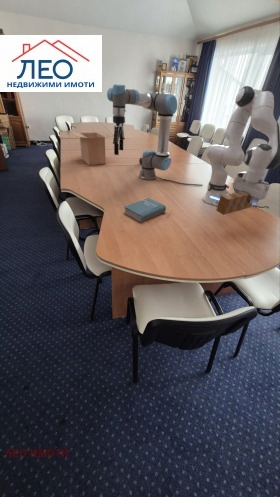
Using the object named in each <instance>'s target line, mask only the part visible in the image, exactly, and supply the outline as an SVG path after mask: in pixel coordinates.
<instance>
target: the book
mask: <svg viewBox="0 0 280 497" xmlns="http://www.w3.org/2000/svg"><path fill="white" fill-rule="evenodd" d="M166 209H167V207H166V205H165V204H162V203H161V202H159V201H156V200H154V199H152V198H151V197H148V198H145V199H142V200H139V201H136V202H134V203H131V204H127V205H125V206H124V212H123V214H124V215H126V216H128V217H130V219H133V220H134V221H137V222H138V223H143V222H145V221H147V220H150V219H152V218H154V217H156V216H158V215H161V214H164V213H166Z"/></svg>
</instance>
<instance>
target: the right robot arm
mask: <svg viewBox="0 0 280 497" xmlns="http://www.w3.org/2000/svg"><path fill="white" fill-rule="evenodd" d="M235 104H236V105H237V106H236V107H235V108H234V111H233V112H232V114H231V117H230V118H229V121H228V123H227V126H226V128H225V131H224V138H225V140H226V141H227V142H228V146H225V145H221V144H212V145H210V146H209V147H208V149H207V151H206V157H207V158H206V159H207V160H208V161H209V163H210V166H211V174H210V180H209V182H208V185H207V189H206V192H205V194H204V197H203V199H202V200H203V201H204V202H205V203H206V204H209V205H213V206H215V207H217V206H218V203H219V200H220V196H221V195H226V194H230V193H231V192H229V190H228V189H230V185H228V184H227V179H228V175H229V173H228V171H227V170H226V168H225V167H224V165H226V166H228V167H239V166H240V165H242V164H243V163H244V165H245V166H247V169H246V171H240V172H237V173H236V177H235V178H234V180H233V182H232V188H233V189H235V190H237V191H238V192H239V191H244V192H246V193H248V194H250V195H251V196H252V199H251V200H249V201H248V203H250V204H251V203H252V205H251V207H255V208H258V209H259V208H260V209H263V208H266V209H270V207H269V206H268V205H267V206H266V205H264V206H260V205H259V206H258V205H255V204H253V202H254V200H256V199H257V200H264V199H266V198H267V195H268V192H269V189H270V186H271V185H270V184H269V182H268V181H266V180H265V181H264V180H263V178H264V175H265V172H266V170H269V171H272V170H275V169H276V168H277V167H279V166H280V124H279V122H278V121H277V120H276V118H275V114H274V110H275V96H274V94H273V93H272V91H270V90H265V91H263V90H261V89H258V88H255V87H252V86H250V85H245V86H243V87H241V88H240V89H239V90H238V92H237V94H236V96H235ZM249 119H250V125H251V127H252V128H253V129H254V130H255V131H258V132H260V133H262V134H263V135H265V136H267V138H268V140H269V141H268V144H267V143H258V144H257V145H256V146H255V147H251V148H249V149H247V151H246V152H244V149H243V148H242V138H243V135H244V132H245V129H246V127H247V124H248V122H249Z"/></svg>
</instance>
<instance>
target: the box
mask: <svg viewBox="0 0 280 497" xmlns="http://www.w3.org/2000/svg"><path fill="white" fill-rule="evenodd" d="M70 133H71V134H72V135H74V136H75V137H77V138H79V144H80V153H81V160H83V162H85V163H86V165H87V166H95V165H97V166H98V165H106V163H107V162H106V158H107V157H106V138H114V135H111V134H109V133H108V132H105V131H98V132H96V131H95V130H92V129H91V130H77V132H76V131H70Z"/></svg>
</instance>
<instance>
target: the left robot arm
mask: <svg viewBox="0 0 280 497" xmlns="http://www.w3.org/2000/svg"><path fill="white" fill-rule="evenodd" d="M106 98H107V100H108V101H109V102H111V103H112V123H114V124H115V125H114V129H113V130H114V131H113V140H112V144H113V154H114V156H119V155H120V154H119V153H120V151H124V141H125V130H124V124H125V123H126V112H127V110H126V105H132V106H137V107H142V108H143V109H147V110H150V111H153V112H156V113H157V116H158V118H159V122H158V124H159V125H158V136H157V150H153V149H151V150H145V151H143V152H142V157H141V158H142V164H141V169H140V170H139V178H140V179H142V180H146V181H154V180H156V178H157V179H160V180H163V181H167V182H173V183H175V184H180V185H189V186H199V183H198V184H197V183H183V182H178V181H175V180H171V179H165V178H161V177H159V176H157V174H156V169H157V170H158V171H167V170H168V169H169V168H170V166H171V164H172V158H171V156H170V152H169V142H170V131H171V123H172V122H171V121H172V118H173V117H174V114H175V113H177V110H178V104H179V103H178V99H177V97H176V96H175V95H174V94H171V93H159V92H154V93H150V92H145V93H141V92H140V91H138V90H137V89H131V88H130V89H128V88H127V87H126V85H125V84H116V83H115V84H113V85H112V87H109V88H108V89H107V92H106ZM200 186H203V184H200Z"/></svg>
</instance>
